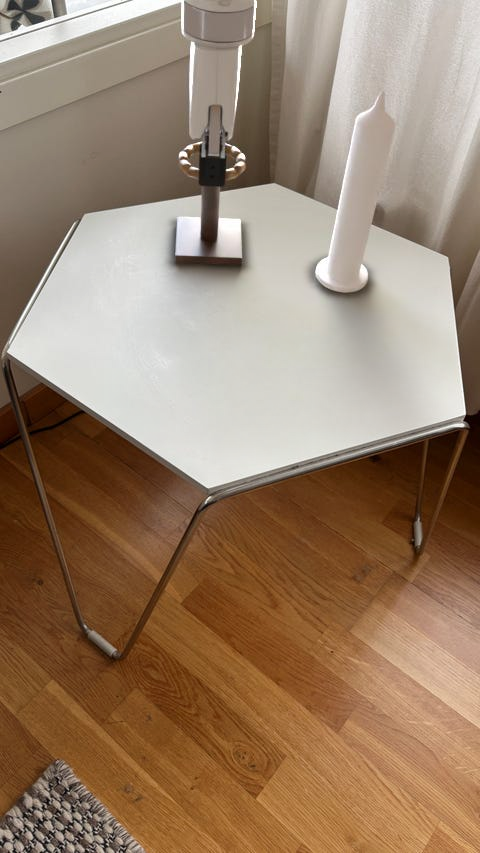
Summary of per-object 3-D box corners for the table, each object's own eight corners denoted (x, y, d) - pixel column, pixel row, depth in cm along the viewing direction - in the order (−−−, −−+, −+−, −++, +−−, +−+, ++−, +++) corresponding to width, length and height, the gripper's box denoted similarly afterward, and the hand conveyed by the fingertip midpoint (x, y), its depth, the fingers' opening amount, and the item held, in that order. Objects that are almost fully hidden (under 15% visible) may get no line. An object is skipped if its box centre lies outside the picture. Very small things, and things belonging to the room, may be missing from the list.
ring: (177, 182, 86) (177, 173, 85) (179, 147, 92) (179, 138, 91) (246, 184, 87) (247, 175, 86) (244, 150, 92) (244, 141, 91)
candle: (366, 296, 93) (415, 111, 74) (313, 288, 94) (348, 101, 75) (368, 264, 98) (415, 81, 79) (317, 256, 98) (351, 72, 79)
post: (175, 262, 95) (174, 188, 87) (177, 223, 101) (177, 150, 92) (241, 265, 96) (248, 191, 87) (240, 226, 102) (246, 153, 93)
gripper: (183, -13, 78) (182, 145, 92) (179, 48, 68) (179, 215, 82) (252, -8, 78) (240, 148, 92) (257, 53, 68) (243, 218, 82)
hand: (211, 179), depth 87 cm, fingers closed on ring, 1 cm apart
